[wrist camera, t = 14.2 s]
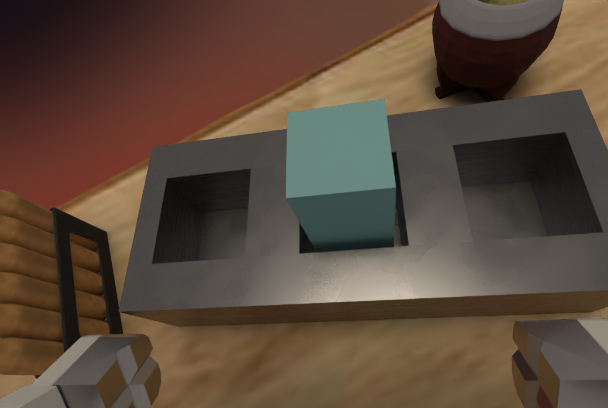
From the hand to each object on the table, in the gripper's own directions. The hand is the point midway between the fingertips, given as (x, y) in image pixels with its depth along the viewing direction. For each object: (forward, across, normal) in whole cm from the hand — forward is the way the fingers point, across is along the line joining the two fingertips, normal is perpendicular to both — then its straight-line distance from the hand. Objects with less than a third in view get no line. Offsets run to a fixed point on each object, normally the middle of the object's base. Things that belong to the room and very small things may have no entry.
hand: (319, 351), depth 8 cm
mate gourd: (+24, -10, -4) cm, 26 cm away
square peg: (+15, 0, +4) cm, 15 cm away
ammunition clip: (+14, +18, +7) cm, 23 cm away
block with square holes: (+15, -1, +4) cm, 16 cm away
